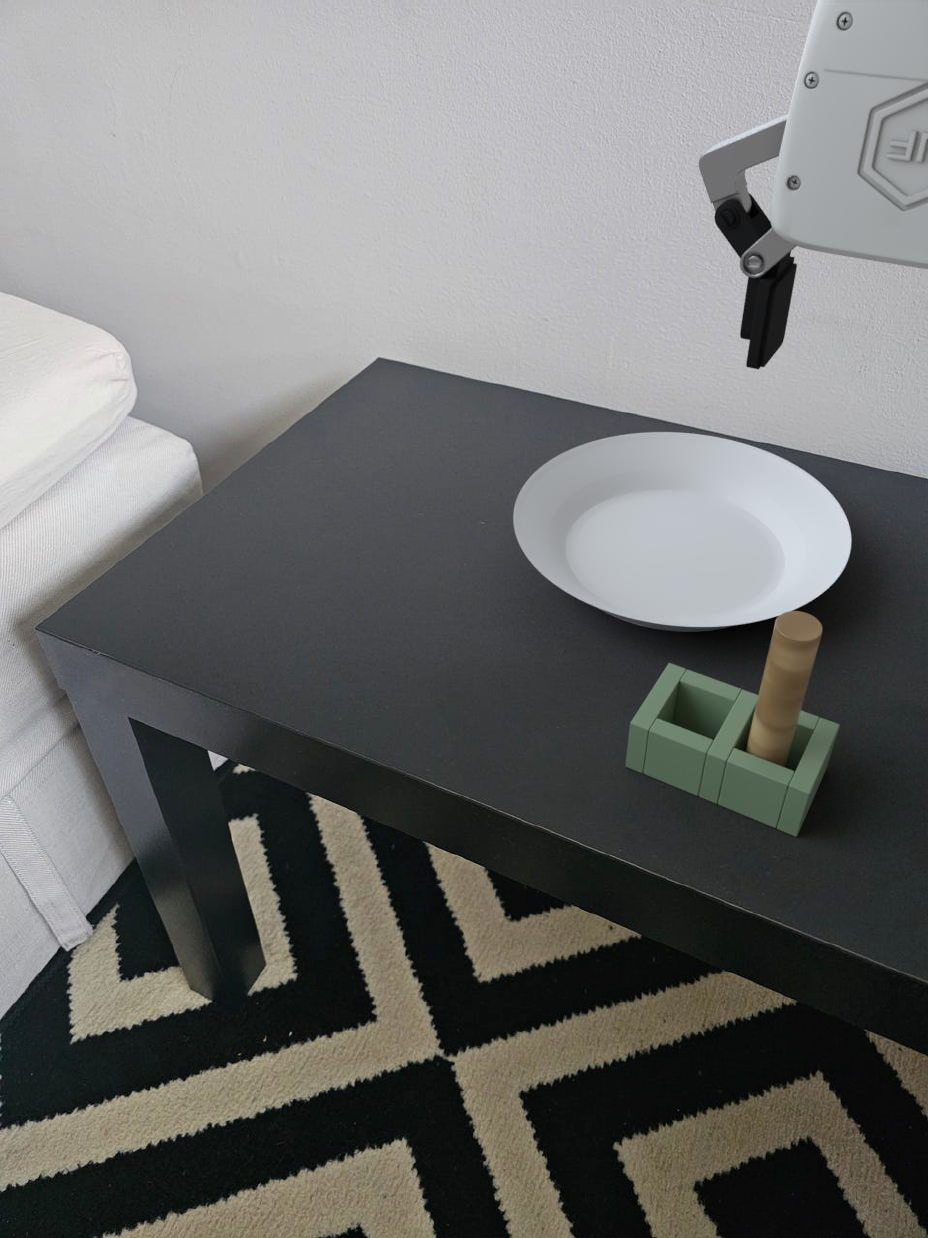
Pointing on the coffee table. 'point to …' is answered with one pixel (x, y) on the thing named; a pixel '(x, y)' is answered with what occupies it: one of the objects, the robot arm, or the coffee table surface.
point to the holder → (726, 749)
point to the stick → (784, 685)
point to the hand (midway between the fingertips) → (873, 379)
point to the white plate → (682, 530)
